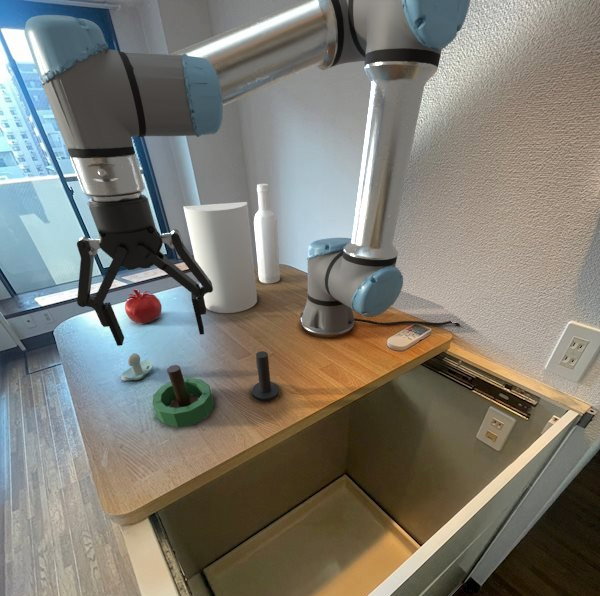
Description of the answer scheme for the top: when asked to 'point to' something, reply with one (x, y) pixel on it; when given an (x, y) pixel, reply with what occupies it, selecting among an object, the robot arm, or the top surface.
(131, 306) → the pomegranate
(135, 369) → the pacifier
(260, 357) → the charcoal peg
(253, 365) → the top surface
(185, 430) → the top surface
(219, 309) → the cylinder
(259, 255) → the bottle
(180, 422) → the ring
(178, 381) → the walnut peg
